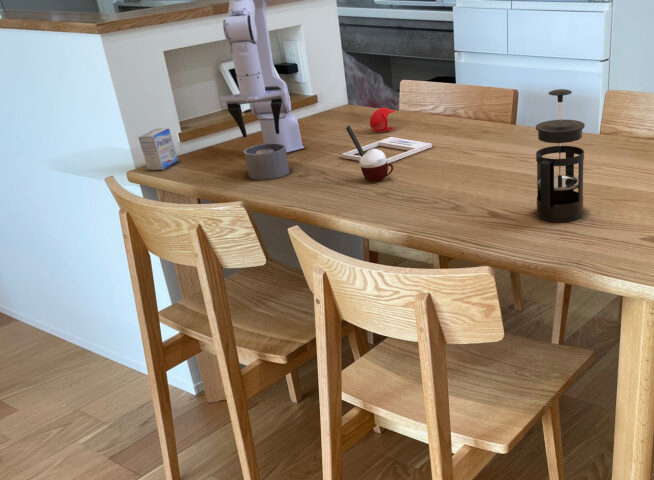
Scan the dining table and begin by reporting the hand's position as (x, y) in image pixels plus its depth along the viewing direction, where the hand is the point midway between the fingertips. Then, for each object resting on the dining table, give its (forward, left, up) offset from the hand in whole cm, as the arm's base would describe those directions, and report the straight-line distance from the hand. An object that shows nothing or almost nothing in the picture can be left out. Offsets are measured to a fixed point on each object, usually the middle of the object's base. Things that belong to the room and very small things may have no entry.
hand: (261, 134), depth 179 cm
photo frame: (-29, +9, -9) cm, 32 cm away
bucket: (0, 0, -9) cm, 9 cm away
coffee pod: (0, 0, -9) cm, 9 cm away
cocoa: (-14, +25, -10) cm, 30 cm away
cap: (-42, -11, -10) cm, 44 cm away
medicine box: (+15, -30, -10) cm, 35 cm away
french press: (-24, +74, -10) cm, 78 cm away
